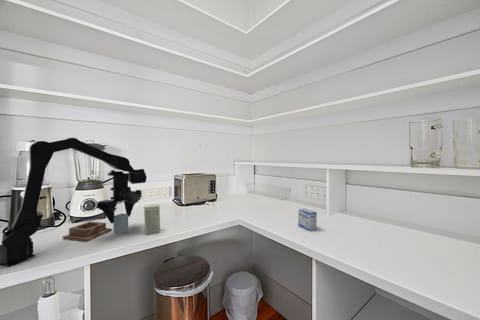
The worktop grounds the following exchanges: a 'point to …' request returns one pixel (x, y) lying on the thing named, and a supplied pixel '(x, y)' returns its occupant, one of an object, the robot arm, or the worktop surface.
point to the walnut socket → (87, 231)
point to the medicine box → (307, 219)
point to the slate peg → (120, 224)
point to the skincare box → (152, 218)
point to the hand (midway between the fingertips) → (120, 219)
